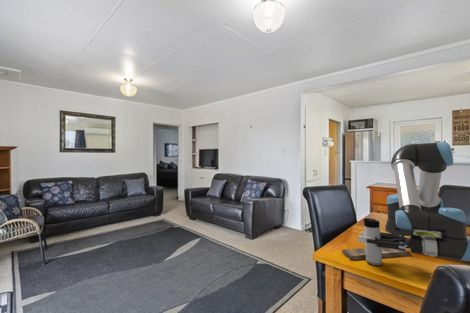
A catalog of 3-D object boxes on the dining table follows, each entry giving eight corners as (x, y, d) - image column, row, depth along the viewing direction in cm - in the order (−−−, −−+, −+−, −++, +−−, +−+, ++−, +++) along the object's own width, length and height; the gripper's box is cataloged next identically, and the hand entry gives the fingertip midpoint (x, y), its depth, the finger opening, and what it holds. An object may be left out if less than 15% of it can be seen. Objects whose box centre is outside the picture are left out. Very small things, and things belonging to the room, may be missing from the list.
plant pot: (433, 248, 119) (432, 231, 119) (443, 256, 110) (442, 237, 110) (411, 247, 122) (410, 230, 122) (419, 254, 113) (418, 236, 113)
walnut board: (398, 249, 120) (397, 245, 120) (410, 255, 112) (410, 251, 112) (342, 253, 118) (341, 249, 118) (350, 260, 110) (350, 256, 110)
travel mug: (362, 260, 109) (359, 217, 109) (375, 258, 110) (373, 216, 110) (371, 266, 103) (368, 221, 103) (385, 264, 103) (382, 219, 103)
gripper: (425, 263, 88) (357, 251, 101) (421, 246, 104) (362, 238, 117) (424, 243, 88) (356, 234, 101) (420, 229, 104) (361, 223, 117)
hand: (359, 236), depth 109 cm, fingers closed on travel mug, 6 cm apart
